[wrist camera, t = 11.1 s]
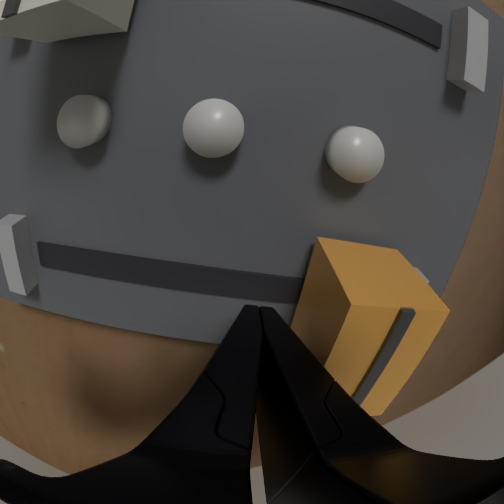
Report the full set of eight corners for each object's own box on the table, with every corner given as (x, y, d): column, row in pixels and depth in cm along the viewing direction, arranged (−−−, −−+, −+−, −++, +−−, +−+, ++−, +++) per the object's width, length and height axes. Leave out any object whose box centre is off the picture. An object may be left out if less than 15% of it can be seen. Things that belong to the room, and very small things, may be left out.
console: (483, 23, 7) (520, 18, 4) (398, 332, 14) (417, 367, 12) (31, -36, 5) (0, -49, 3) (16, 281, 12) (-9, 309, 10)
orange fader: (397, 249, 9) (452, 314, 6) (355, 346, 11) (381, 418, 8) (316, 236, 9) (353, 308, 6) (285, 343, 11) (297, 423, 8)
